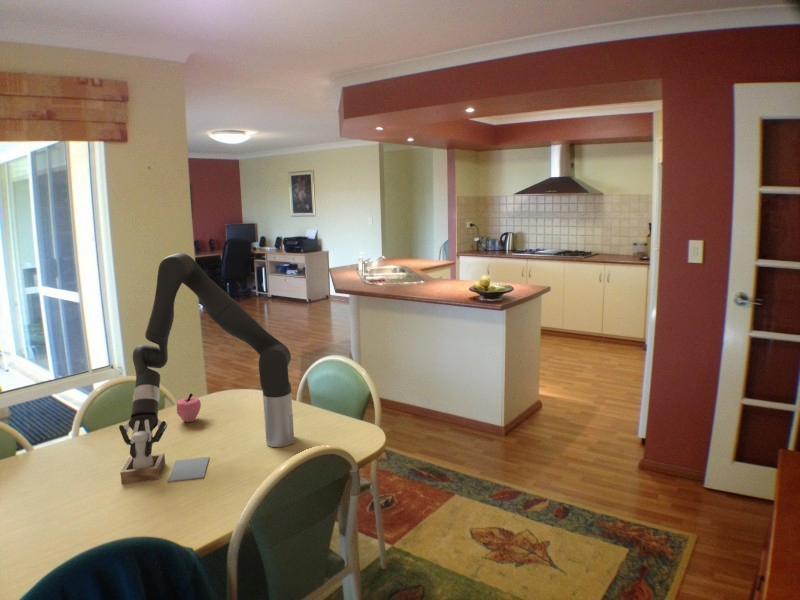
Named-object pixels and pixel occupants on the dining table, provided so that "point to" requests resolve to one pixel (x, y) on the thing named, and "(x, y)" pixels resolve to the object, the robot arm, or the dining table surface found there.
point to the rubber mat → (189, 469)
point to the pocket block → (143, 470)
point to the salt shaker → (141, 451)
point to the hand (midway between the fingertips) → (140, 456)
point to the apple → (188, 408)
